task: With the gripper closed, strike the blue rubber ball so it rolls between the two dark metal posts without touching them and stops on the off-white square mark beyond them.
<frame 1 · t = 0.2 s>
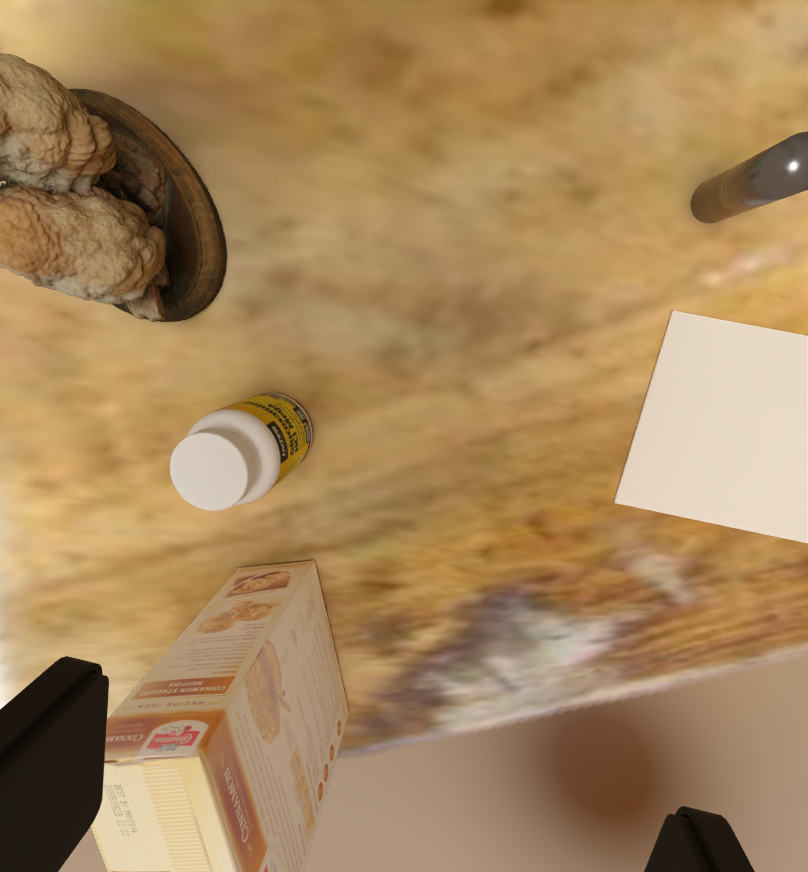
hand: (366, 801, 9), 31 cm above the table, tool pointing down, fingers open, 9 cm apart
pill bottle: (276, 430, 40), on the table
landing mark: (741, 430, 36), on the table
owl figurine: (127, 208, 38), on the table
coffeecake box: (295, 640, 44), on the table
post 1: (712, 201, 33), on the table
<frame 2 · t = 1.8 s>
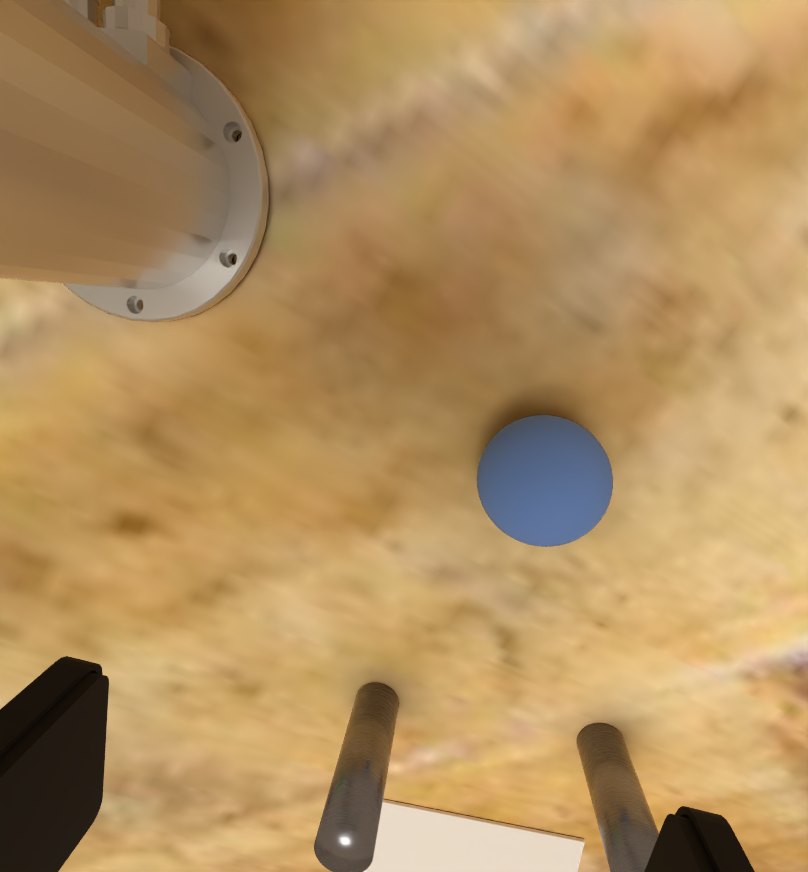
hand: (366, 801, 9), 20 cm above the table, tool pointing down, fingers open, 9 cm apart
post 2: (599, 742, 30), on the table
ball: (542, 480, 24), on the table
post 1: (377, 701, 31), on the table
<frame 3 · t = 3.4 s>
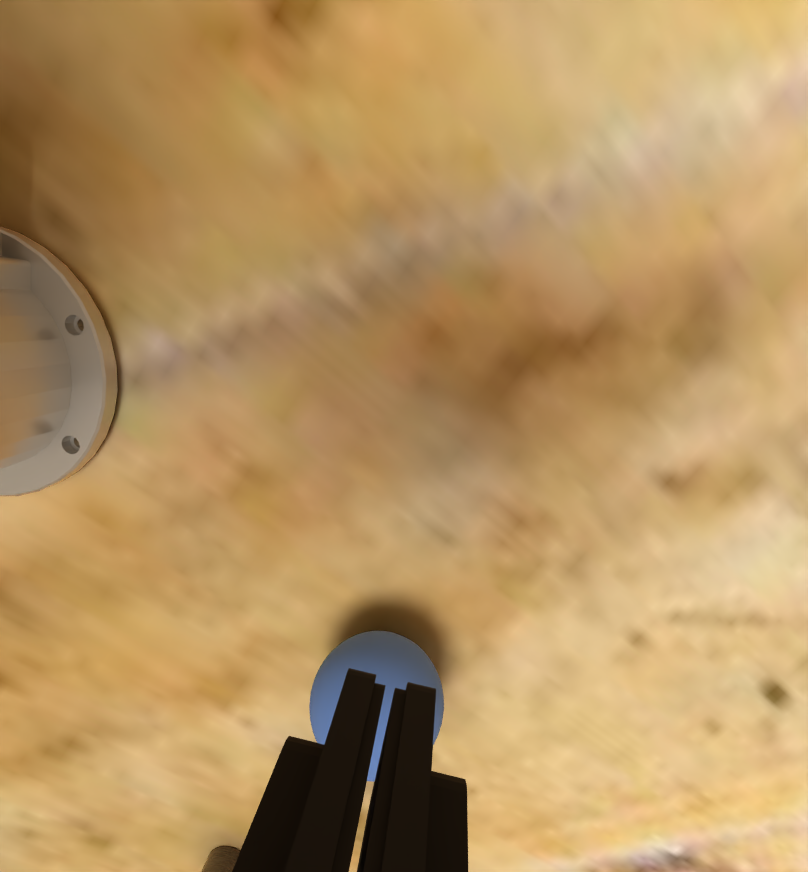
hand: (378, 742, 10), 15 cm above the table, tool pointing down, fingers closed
ball: (377, 701, 23), on the table
post 1: (229, 864, 31), on the table
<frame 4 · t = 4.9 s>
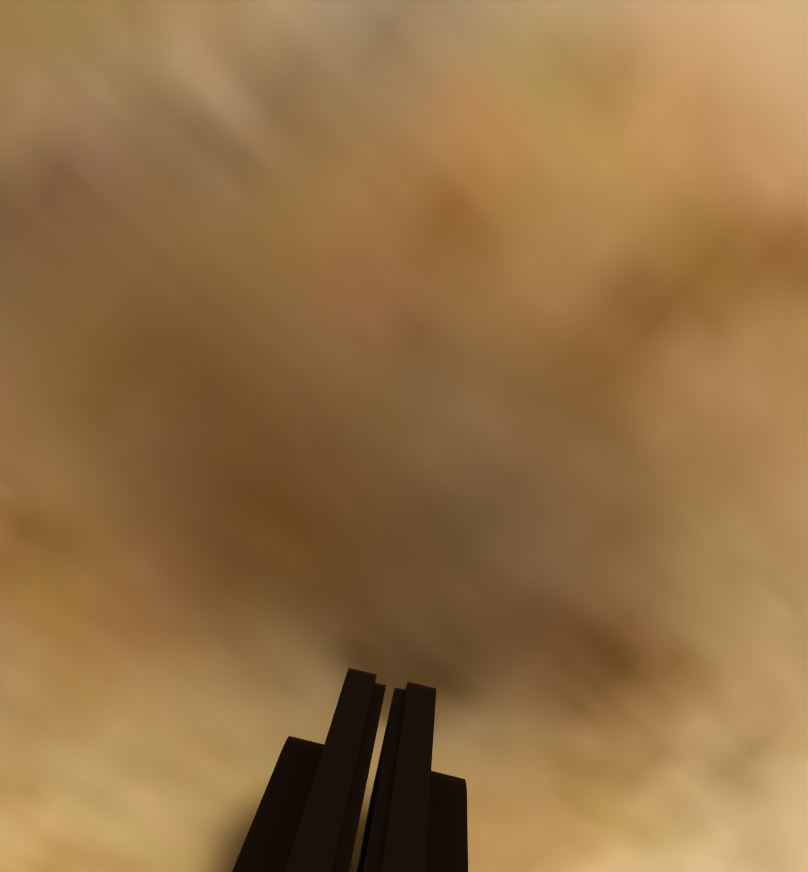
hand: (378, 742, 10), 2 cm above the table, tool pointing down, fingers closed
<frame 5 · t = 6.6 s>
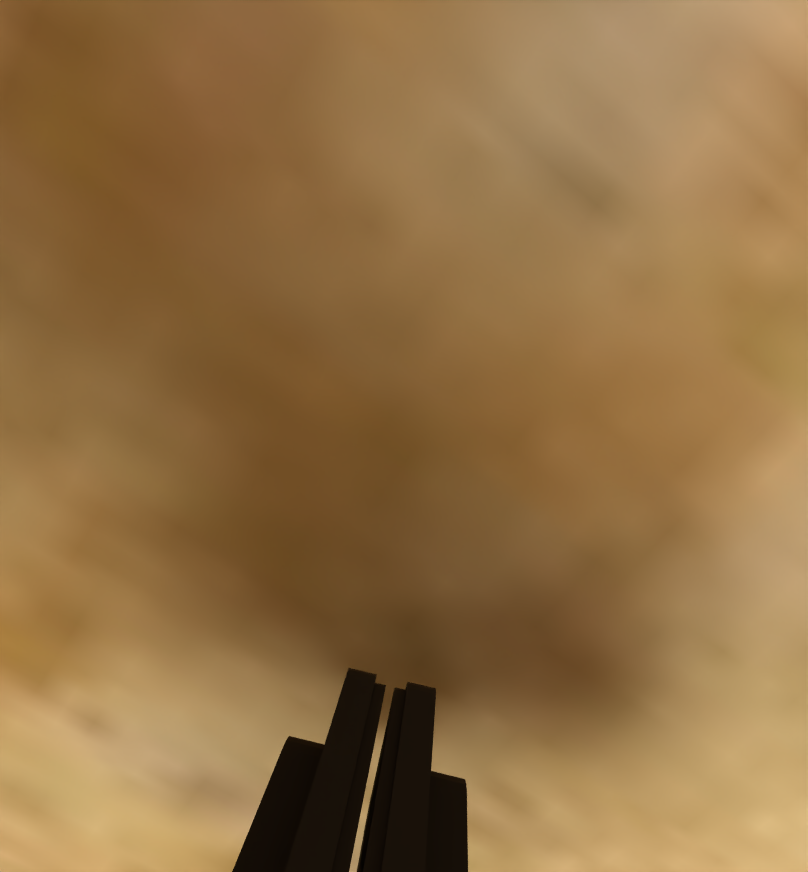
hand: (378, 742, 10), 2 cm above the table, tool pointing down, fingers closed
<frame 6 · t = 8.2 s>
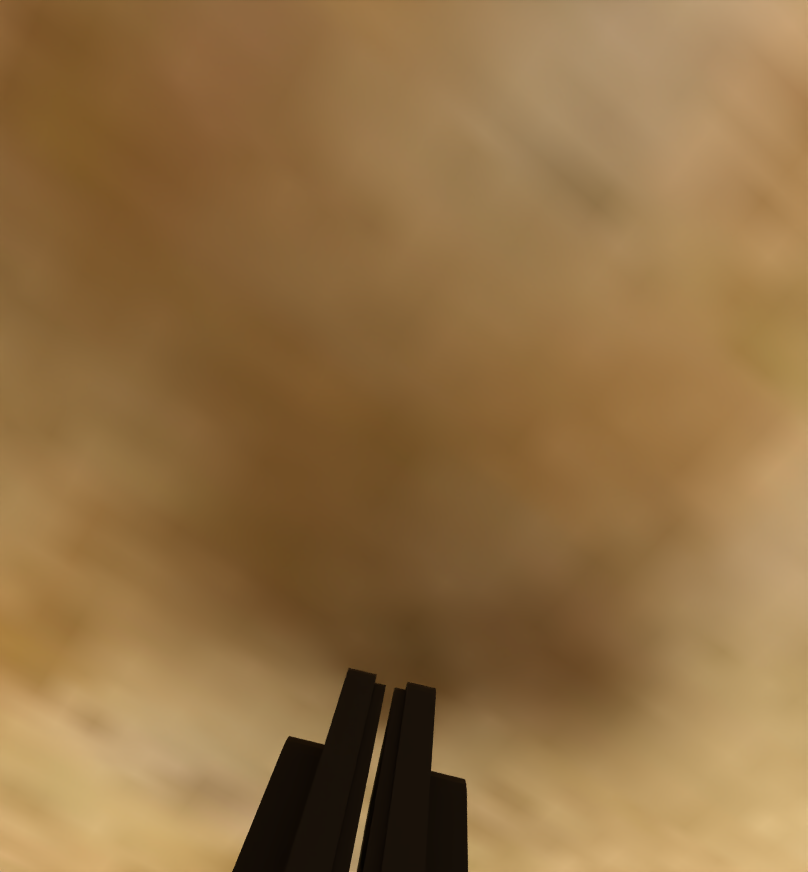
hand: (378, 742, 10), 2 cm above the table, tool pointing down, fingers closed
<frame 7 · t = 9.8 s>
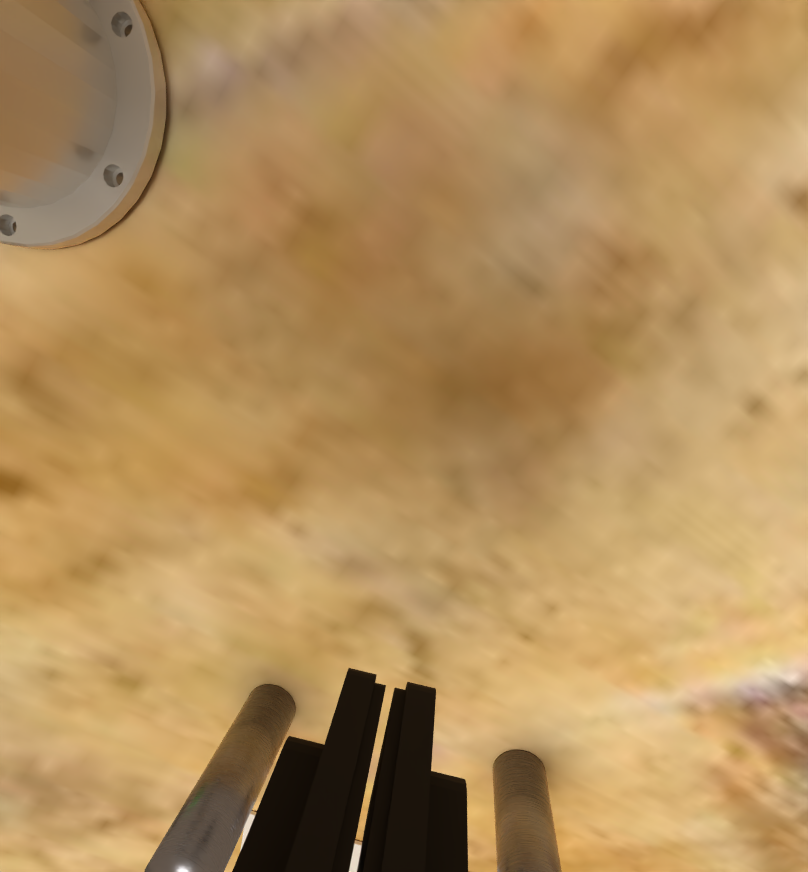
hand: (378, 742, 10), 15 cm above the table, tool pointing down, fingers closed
post 2: (518, 772, 26), on the table
post 1: (271, 706, 27), on the table
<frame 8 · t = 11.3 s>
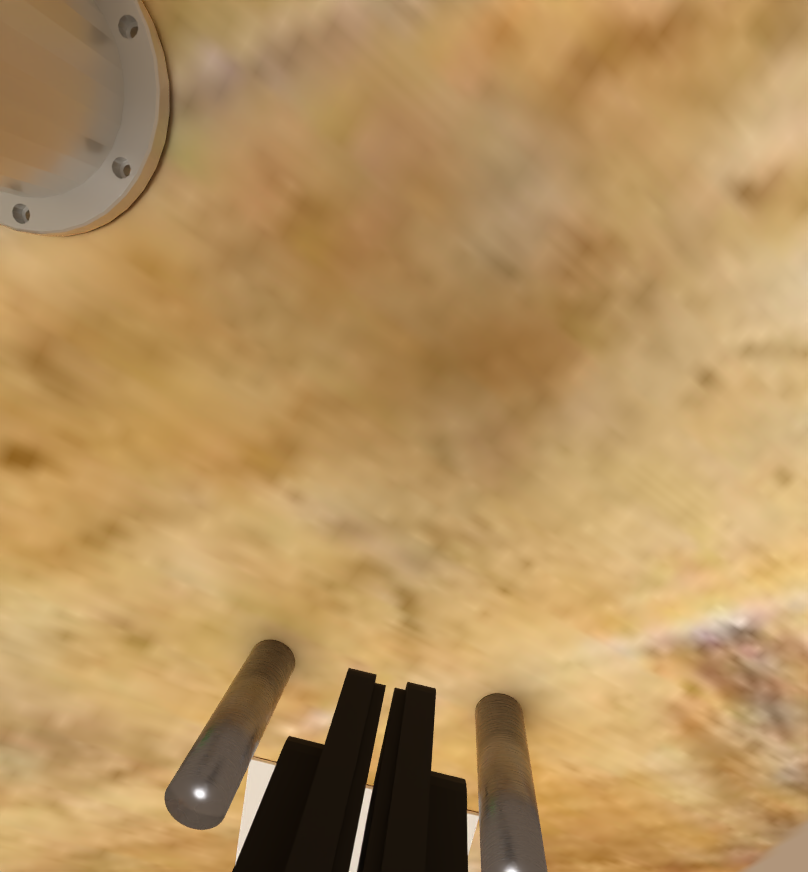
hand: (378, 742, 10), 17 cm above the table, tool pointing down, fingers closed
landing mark: (345, 871, 33), on the table
post 2: (498, 713, 29), on the table
post 1: (272, 660, 30), on the table
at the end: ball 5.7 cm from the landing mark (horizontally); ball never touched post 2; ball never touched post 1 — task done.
